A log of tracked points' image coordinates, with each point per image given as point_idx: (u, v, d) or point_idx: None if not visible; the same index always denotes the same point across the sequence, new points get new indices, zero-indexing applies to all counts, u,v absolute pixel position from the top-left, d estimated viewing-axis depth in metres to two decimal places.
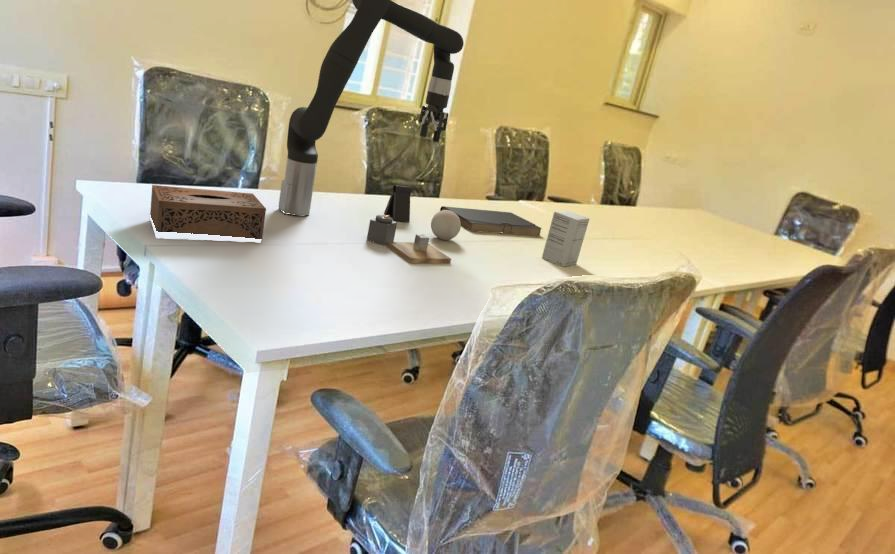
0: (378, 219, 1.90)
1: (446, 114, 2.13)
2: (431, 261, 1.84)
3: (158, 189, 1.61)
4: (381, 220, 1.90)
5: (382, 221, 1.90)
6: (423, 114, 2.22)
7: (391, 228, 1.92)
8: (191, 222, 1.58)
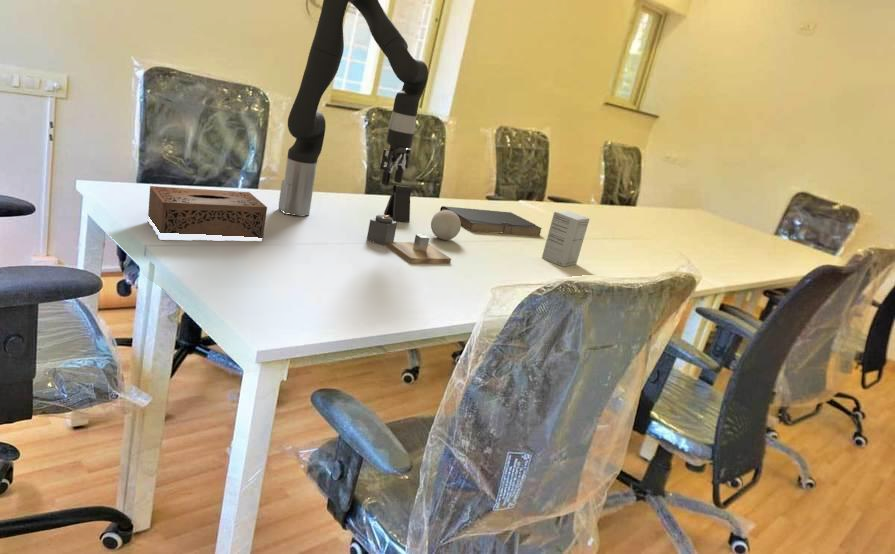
0: (378, 219, 1.90)
1: None
2: (431, 261, 1.84)
3: (157, 190, 1.60)
4: (381, 220, 1.90)
5: (382, 221, 1.90)
6: None
7: (391, 228, 1.92)
8: (195, 223, 1.58)
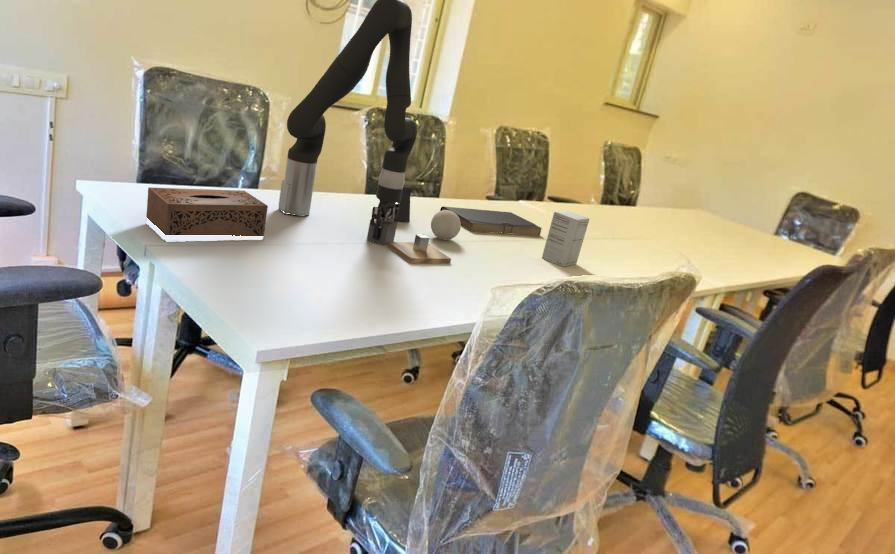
0: None
1: None
2: (431, 261, 1.84)
3: (157, 192, 1.59)
4: None
5: None
6: None
7: (391, 228, 1.92)
8: (199, 223, 1.58)
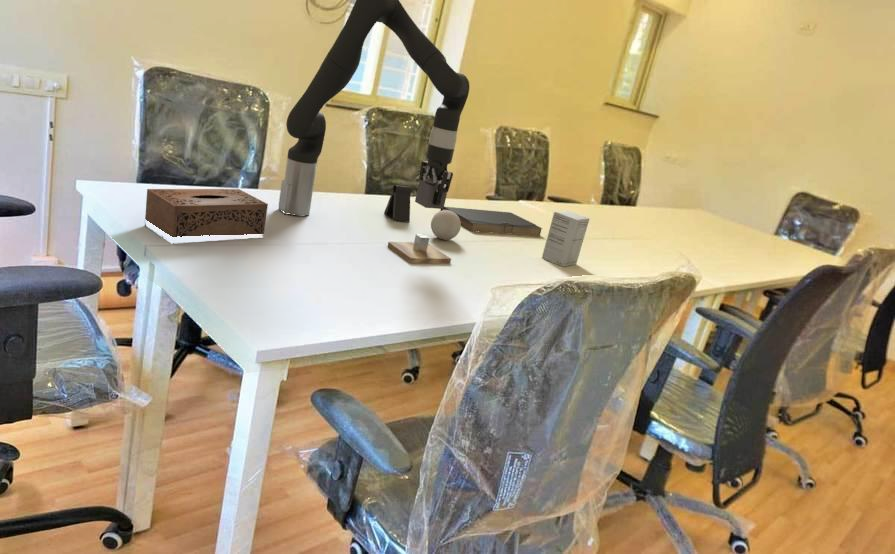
0: None
1: None
2: (431, 261, 1.84)
3: (158, 193, 1.57)
4: None
5: None
6: None
7: None
8: (203, 224, 1.58)
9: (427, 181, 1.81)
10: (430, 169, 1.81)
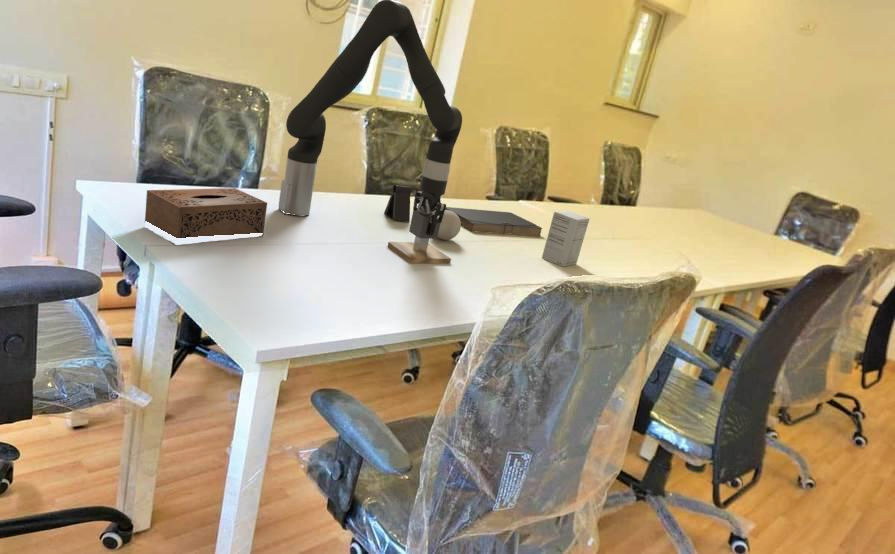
0: None
1: None
2: (431, 261, 1.84)
3: (159, 194, 1.57)
4: None
5: None
6: None
7: None
8: (206, 225, 1.59)
9: (421, 212, 1.83)
10: (424, 200, 1.84)
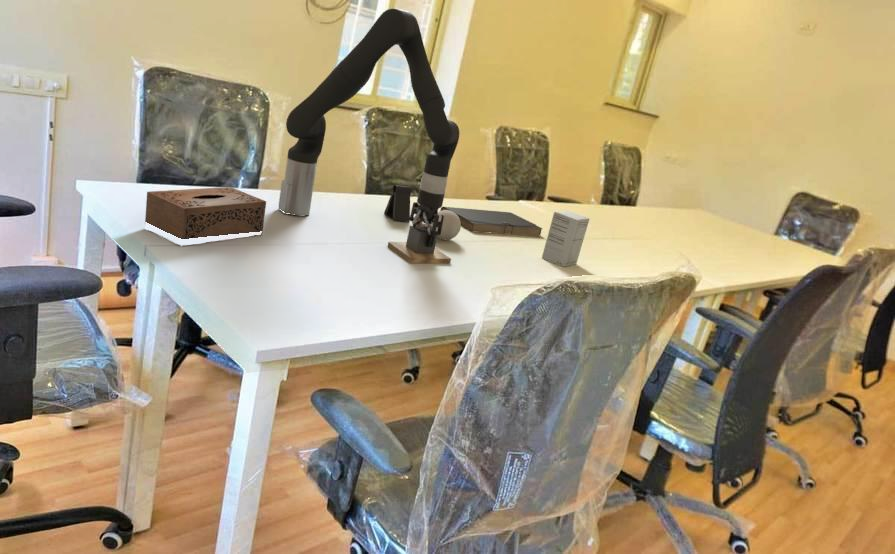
0: (426, 230, 1.84)
1: None
2: (431, 261, 1.84)
3: (161, 196, 1.56)
4: None
5: None
6: None
7: None
8: (209, 225, 1.59)
9: (417, 227, 1.85)
10: (421, 213, 1.85)
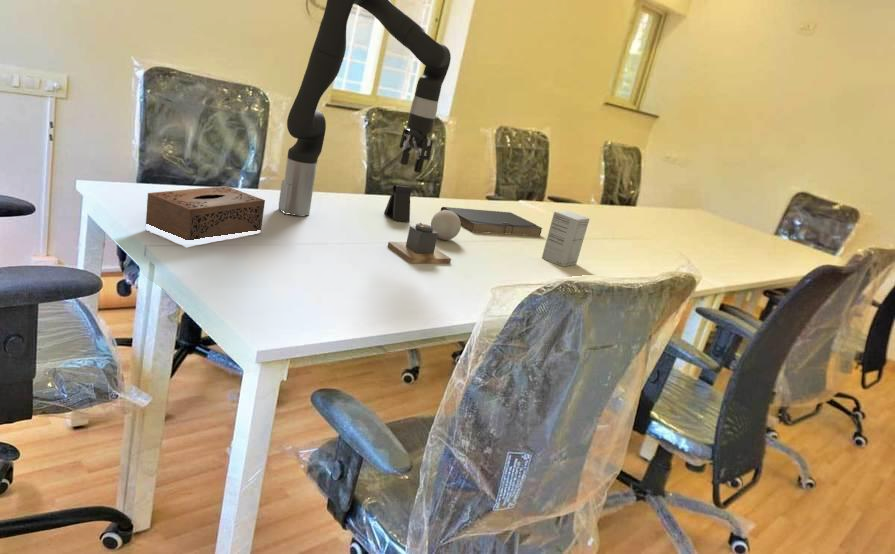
0: (426, 230, 1.84)
1: None
2: (431, 261, 1.84)
3: (162, 197, 1.55)
4: (429, 230, 1.85)
5: (430, 231, 1.85)
6: None
7: None
8: (213, 225, 1.59)
9: (417, 227, 1.85)
10: (411, 138, 1.86)
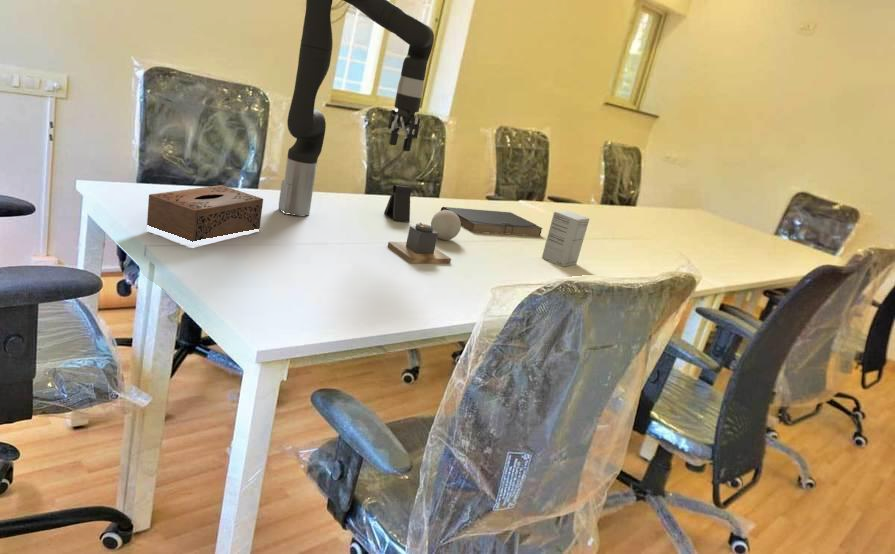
0: (426, 230, 1.84)
1: None
2: (431, 261, 1.84)
3: (164, 198, 1.55)
4: (429, 230, 1.85)
5: (430, 231, 1.85)
6: None
7: None
8: (215, 225, 1.60)
9: (417, 227, 1.85)
10: (398, 118, 1.90)
